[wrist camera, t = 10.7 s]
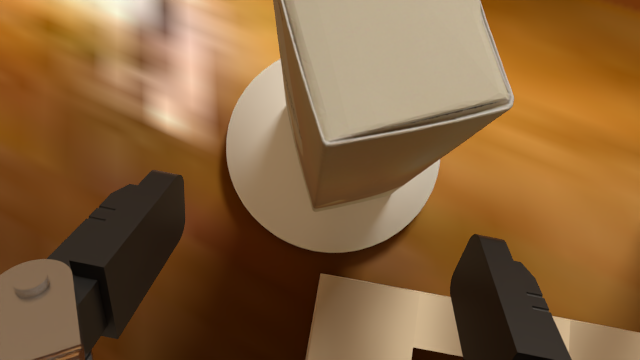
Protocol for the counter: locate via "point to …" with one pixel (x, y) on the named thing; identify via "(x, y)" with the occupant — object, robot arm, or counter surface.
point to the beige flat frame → (424, 326)
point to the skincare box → (384, 89)
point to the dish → (288, 183)
